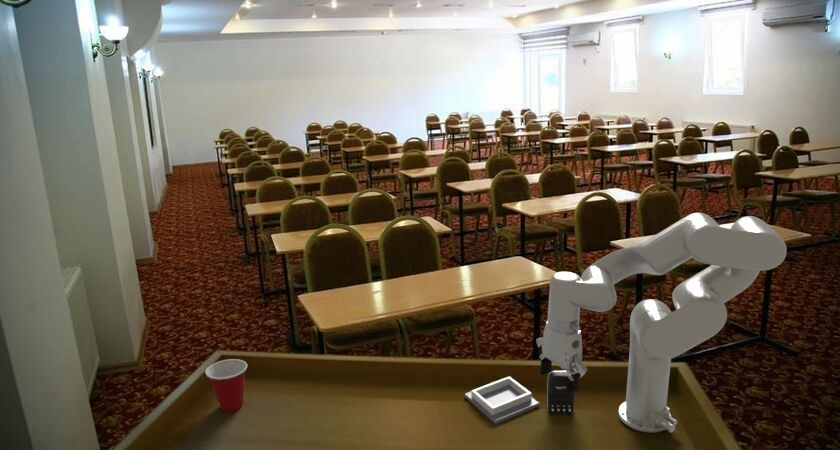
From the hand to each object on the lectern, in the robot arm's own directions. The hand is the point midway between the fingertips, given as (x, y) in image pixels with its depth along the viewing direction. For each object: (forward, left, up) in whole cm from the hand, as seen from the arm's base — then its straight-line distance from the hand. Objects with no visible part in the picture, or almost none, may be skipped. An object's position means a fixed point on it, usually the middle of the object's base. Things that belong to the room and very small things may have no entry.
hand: (558, 382), depth 157 cm
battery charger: (-1, -1, -9) cm, 9 cm away
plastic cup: (+49, +71, -9) cm, 87 cm away
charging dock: (+11, +9, -9) cm, 17 cm away
